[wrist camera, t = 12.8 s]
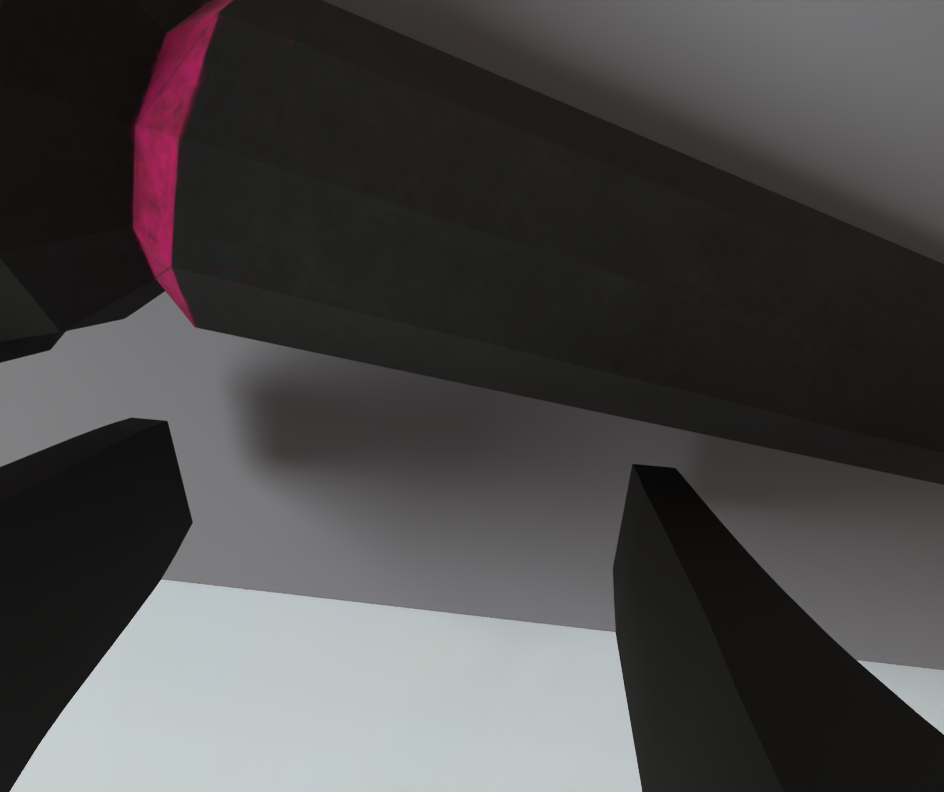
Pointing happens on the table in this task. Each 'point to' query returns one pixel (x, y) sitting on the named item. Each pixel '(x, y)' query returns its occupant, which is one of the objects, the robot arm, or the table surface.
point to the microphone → (440, 230)
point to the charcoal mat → (541, 422)
